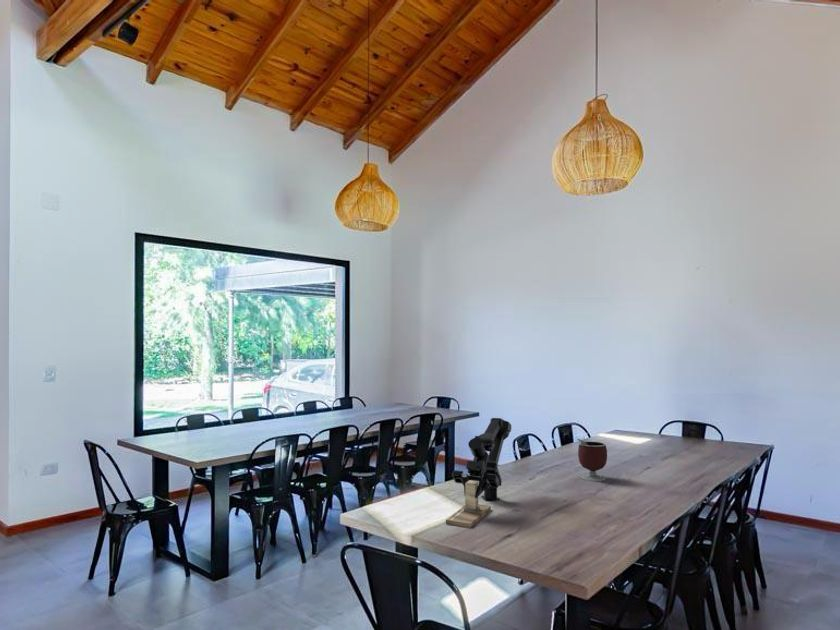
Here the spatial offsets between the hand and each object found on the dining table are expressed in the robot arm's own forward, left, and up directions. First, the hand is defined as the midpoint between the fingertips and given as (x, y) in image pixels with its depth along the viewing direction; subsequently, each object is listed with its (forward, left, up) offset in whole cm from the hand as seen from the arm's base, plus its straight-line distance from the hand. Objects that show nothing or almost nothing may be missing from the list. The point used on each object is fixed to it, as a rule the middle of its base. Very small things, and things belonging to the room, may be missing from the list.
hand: (470, 497), depth 224 cm
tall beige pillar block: (-1, +1, -5) cm, 6 cm away
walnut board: (+1, -1, -7) cm, 7 cm away
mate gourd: (-39, +78, -7) cm, 88 cm away
